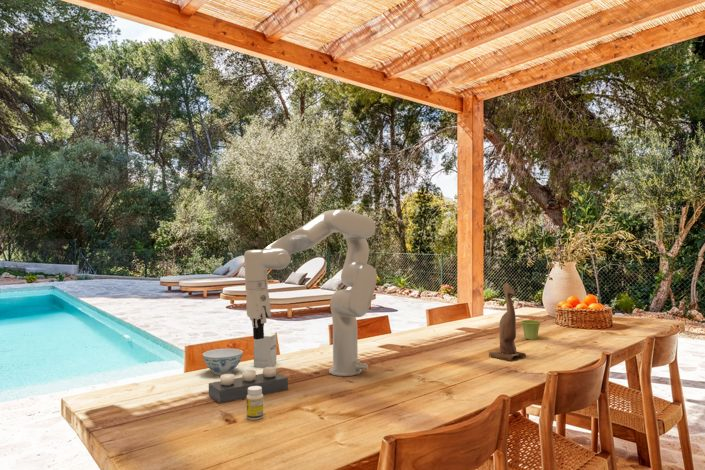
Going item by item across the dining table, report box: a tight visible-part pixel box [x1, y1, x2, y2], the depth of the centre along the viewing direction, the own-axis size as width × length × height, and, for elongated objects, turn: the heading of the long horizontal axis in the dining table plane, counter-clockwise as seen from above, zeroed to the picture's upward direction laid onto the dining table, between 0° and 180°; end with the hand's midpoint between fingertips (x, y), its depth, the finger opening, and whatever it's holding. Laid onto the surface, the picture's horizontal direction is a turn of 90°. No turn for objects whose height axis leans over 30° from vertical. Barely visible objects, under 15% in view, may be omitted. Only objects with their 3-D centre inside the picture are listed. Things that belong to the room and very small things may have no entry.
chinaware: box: [202, 348, 244, 376], centre depth 188 cm, size 15×15×8 cm
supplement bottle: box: [246, 386, 264, 421], centre depth 140 cm, size 5×5×8 cm
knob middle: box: [241, 369, 257, 382], centre depth 163 cm, size 4×4×6 cm
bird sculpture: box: [488, 282, 527, 362], centre depth 208 cm, size 11×12×32 cm
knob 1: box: [219, 373, 235, 387], centre depth 158 cm, size 4×4×6 cm
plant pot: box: [520, 319, 541, 341], centre depth 247 cm, size 9×9×9 cm
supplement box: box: [253, 332, 277, 368], centre depth 199 cm, size 7×7×13 cm
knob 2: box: [262, 366, 277, 378], centre depth 167 cm, size 4×4×6 cm
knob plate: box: [208, 371, 289, 404], centre depth 163 cm, size 24×10×4 cm, turn 125°
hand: (258, 338), depth 167 cm, fingers closed
